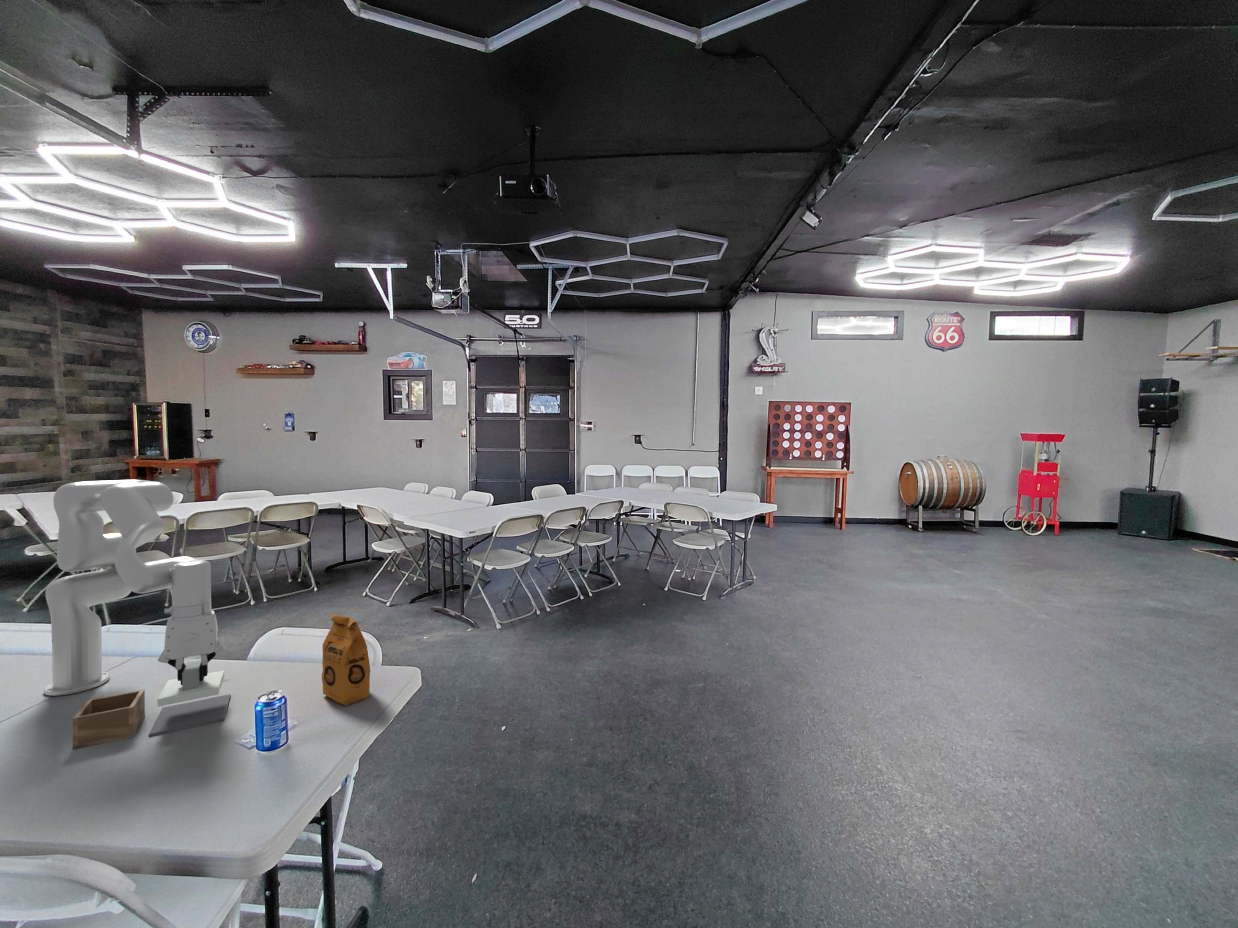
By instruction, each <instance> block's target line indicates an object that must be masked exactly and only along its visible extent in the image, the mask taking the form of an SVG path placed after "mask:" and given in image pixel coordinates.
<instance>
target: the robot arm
mask: <svg viewBox="0 0 1238 928" xmlns="http://www.w3.org/2000/svg"><path fill="white" fill-rule="evenodd" d="M52 502H53V509H54V511H55V514H56V516H57V517H56V518H57V521H58V534H57V550H56V563H57V567H58V568H59V569H60V570H62V571H64V572H69V573H71V572H72V573H74V572H83V571H87V572H83V573H79V574H78V573H77V574H72V575H67V576H63V577H61V578H58V579H55V580H54V581H52V582H51V583H50V584H48V586H47V587H46V590H45V600H46V603H47V606H48V607H47V608H48V611H49V615H50V624H51V629H50V631H51V666H52V667H51V668H52V669H51V673H52V674H51V675H52V676H51V677H52V679H51V680H52V682H51V683H49V684H48V685H46V686H45V687H44V688H43V694H45V695H46V696H53V697H55V696H56V697H57V696H58V697H59V696H66V695H73V694H77V693H81V692H85V691H88V690H91V689H94V688H96V687H100V686H102V685H103V684H105V683H106V682H108V681H109V680H110V678H111V676H110V675H111V674H110V673H109V672H106V671H103V653H102V651H103V650H102V649H103V647H102V645H103V643H102V642H103V641H102V639H103V637H102V634H103V633H102V619H101V618H100V616H99V615H98V614H97V613H96V612H94V611H92V610H91V609H90V608H91V607H93V606H96V605H97V606H98V605H100V604H101V605H102V604H105V603H109V602H114V601H118V600H121V599H124V598H125V597H128V596H129V595H130V594H131V592H133V593H135V594H148V593H153V592H157V591H163V590H164V589H165V590H167V589H170V588H171V606H169V607H167V608H166V607H165V608H164V610H163V612H164V614H167V615H168V614H169V615H171V616H170V617H168V619H167V622H166V626H165V634H164V647H163V648H164V649H163V651H162V652H161V654H160V655H159V657H158V658H157V662H158V663H163V664H168V665H169V666H171V667H173V668H174V669H175V670H177V679H178V681H181V685H182V673H183V671H184V669H185V667H186V665H187V664H185V659H186V658H191V657H198V656H200V661H201V664H200V666H199V674H200V681H203V680H204V677H205V676H207V675H208V673H209V671H208V663H209V662H210V661H212V659H214V658H215V657H216V656H218V655H219V654H221V653H223V652H224V651H225V650H226V646H225V645H224V644H223V642H222V640H220V638H219V630H218V629H219V627H218V621H217V615H216V613H215V611H214V610H212V568H211V562H210V561H208V560H205V559H196V558H194V557H192V556H189V555H182V556H176V557H169V558H164V559H163V558H162V559H155V560H151V561H146V562H142V561H141V560H140V559H139V557H138V555H137V548H138V547H141V546H143V545H145V544H146V543H149V542H151V541H153V540H154V539H155V538H158V536H160V535H161V534H162V533H163V532H164V530H165V526H166V525H165V522H164V521H163V520H162V518H161V517H160V515H159V514H158V512H165V511H167V510H168V509H170V508H171V507H172V505H173V503H174V495H173V491H172V490H171V488H169V486H168V485H167V484H165V483H162V482H160V481H153V480H152V481H151V480H145V479H118V480H117V479H116V480H115V479H114V480H112V479H111V480H86V481H76V482H69V483H65V484H62V485H61V486H59V487H58V488H57V490H55V493H54V495H53V501H52ZM99 512H106V513H107V516H109V518H110V520H111V522H112V523H113V525H114V527H115V528H116V530H117V531H118V532H113V533H112V532H111V533H104V525H105V523H104V519H103V517H102V516H101V515H100V514H99ZM100 568H106V569H101V570H95V571H90V572H88V571H89V570H94V569H100Z"/></svg>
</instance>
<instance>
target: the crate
mask: <svg viewBox="0 0 1238 928" xmlns="http://www.w3.org/2000/svg"><path fill="white" fill-rule="evenodd" d="M145 694H146V693H145V689H140V690H135V691H129V692H122V693H118V694H113V695H112V694H111V695H106V696H100V697H95V698H89V699H88V700H87V701H86V702H85V703H84V705H82V707H81V708H80V709H79V710H78V711H77V712H76V714H75V715H74V717H73V718H72V719H71V720H72V722H71V723H72V750H77V749H82V748H86V747H90V746H95V745H99V744H105V743H109V742H115V741H118V740H123V739H127V738H132V737H133V738H134V736H135V735H136V733H137V731H138V729H140V726H141V724H142V723H143V721H144V719H145V717H146V710H145V709H146V704H145V703H146V701H145V696H146V695H145Z"/></svg>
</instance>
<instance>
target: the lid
mask: <svg viewBox="0 0 1238 928" xmlns="http://www.w3.org/2000/svg"><path fill="white" fill-rule="evenodd" d="M200 664H201V660H196V661H189V662H187V663H186V664H185V665H186V667H185V669H184V671H183V673H182V685H181V681H178V678H174V679H169V680H167V681H166V684H165V685H164V687H163V689H162V690H161V693H160V694H159V695H158V698H157V699H156V700H157V707H163V706H164V707H165V706H167V705H169V706H170V705H173V704H174V705H175V704H178V703H184V702H188V701H193V700H197V699H202V698H209V697H211V696H212V697H213V696H217V695H218V696H219V694H220V690H221V688H222V685H223V682H224V679H225V670H219V671H213V672H208V675H207V676H205V677H204V680H203V681H200V674H199V666H200Z"/></svg>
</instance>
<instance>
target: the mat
mask: <svg viewBox="0 0 1238 928" xmlns="http://www.w3.org/2000/svg"><path fill="white" fill-rule="evenodd" d="M230 701H231V694H230V693H229V694H224V695H218V696H214V697H213V696H212V697H207V698H204V699H199V700H195V701H193V700H192V701H190V702H188V701H187V702H185V703H184V702H182V703H180V704H178V703H177V704H174V705H173V704H172V705H169V706H164V707H163V706H162V708H161V710H160V712H159V714H158V715H157V718H156V719H155V721H154V724H153V725H152V727H151V729H150V731H149V733H148V737H153V736H159V735H163V734H166V733H167V734H168V733H171V732H177V731H181V730H185V729H189V728H194V727H199V726H204V725H208V724H212V723H217V722H222V721H224V720H225V718H226V714H227V712H228V711H227V710H228V707H229V703H230Z"/></svg>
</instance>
